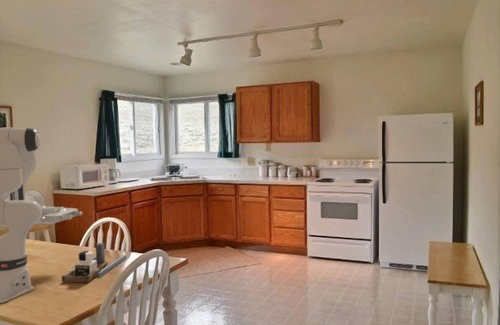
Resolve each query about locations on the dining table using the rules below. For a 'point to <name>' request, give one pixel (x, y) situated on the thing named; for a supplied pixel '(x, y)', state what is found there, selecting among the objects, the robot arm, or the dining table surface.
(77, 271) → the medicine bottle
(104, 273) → the guide rails
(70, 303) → the dining table surface
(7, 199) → the robot arm
